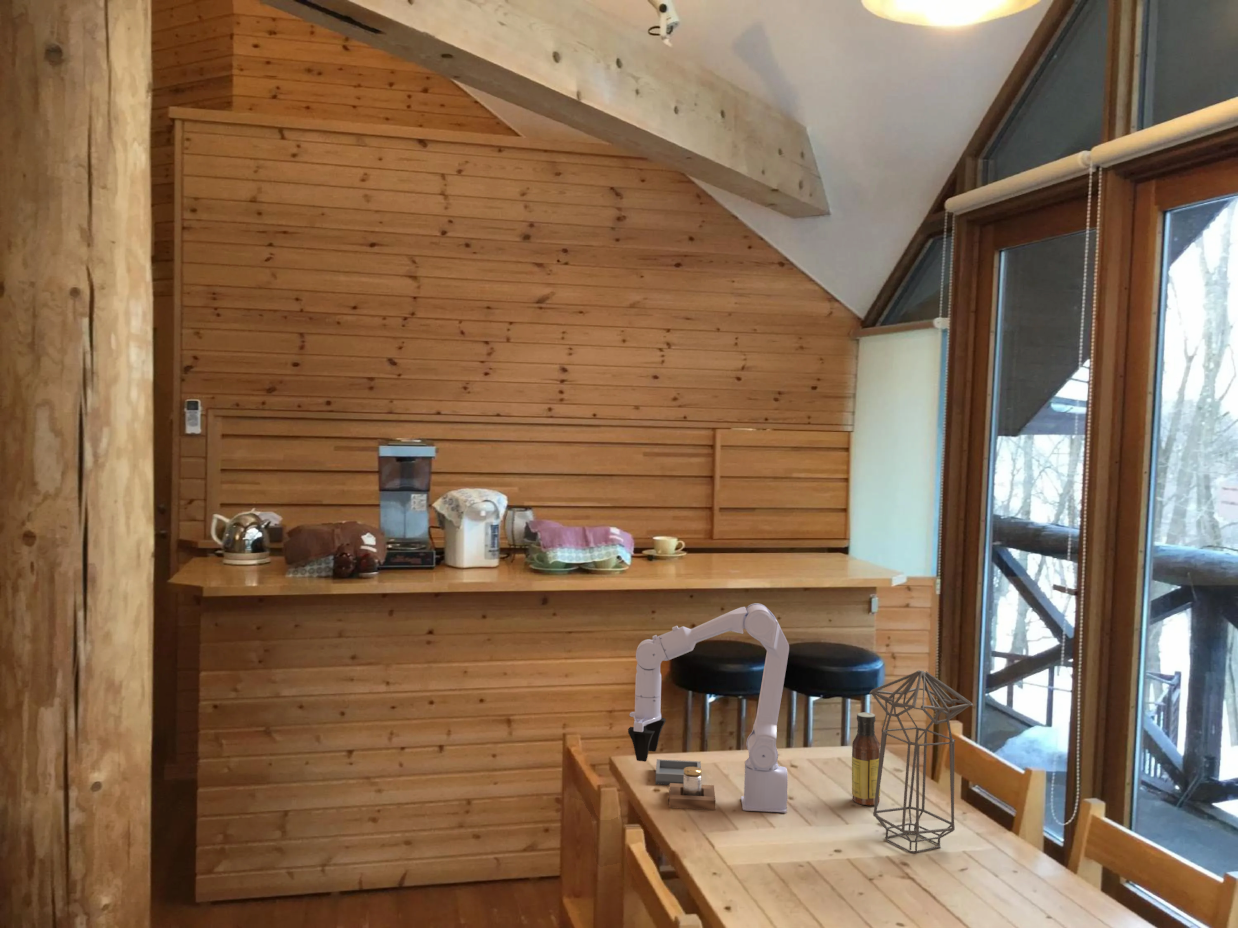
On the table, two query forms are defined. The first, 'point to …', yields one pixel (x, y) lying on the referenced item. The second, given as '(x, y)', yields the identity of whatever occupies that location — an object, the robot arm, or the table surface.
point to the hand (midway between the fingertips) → (646, 755)
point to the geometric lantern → (917, 750)
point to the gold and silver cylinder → (692, 781)
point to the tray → (672, 770)
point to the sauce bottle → (865, 761)
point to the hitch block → (692, 798)
